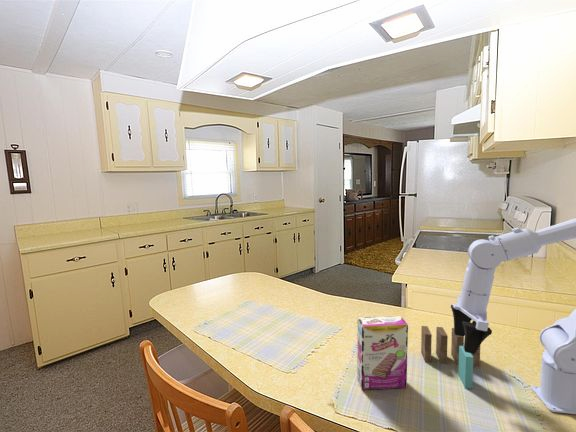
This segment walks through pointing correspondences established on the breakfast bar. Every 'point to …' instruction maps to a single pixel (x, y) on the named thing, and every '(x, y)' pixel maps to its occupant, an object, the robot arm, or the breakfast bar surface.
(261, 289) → the breakfast bar surface
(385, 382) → the candy bar box
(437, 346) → the walnut domino
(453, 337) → the walnut domino
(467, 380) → the teal domino
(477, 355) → the walnut domino
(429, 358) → the walnut domino
